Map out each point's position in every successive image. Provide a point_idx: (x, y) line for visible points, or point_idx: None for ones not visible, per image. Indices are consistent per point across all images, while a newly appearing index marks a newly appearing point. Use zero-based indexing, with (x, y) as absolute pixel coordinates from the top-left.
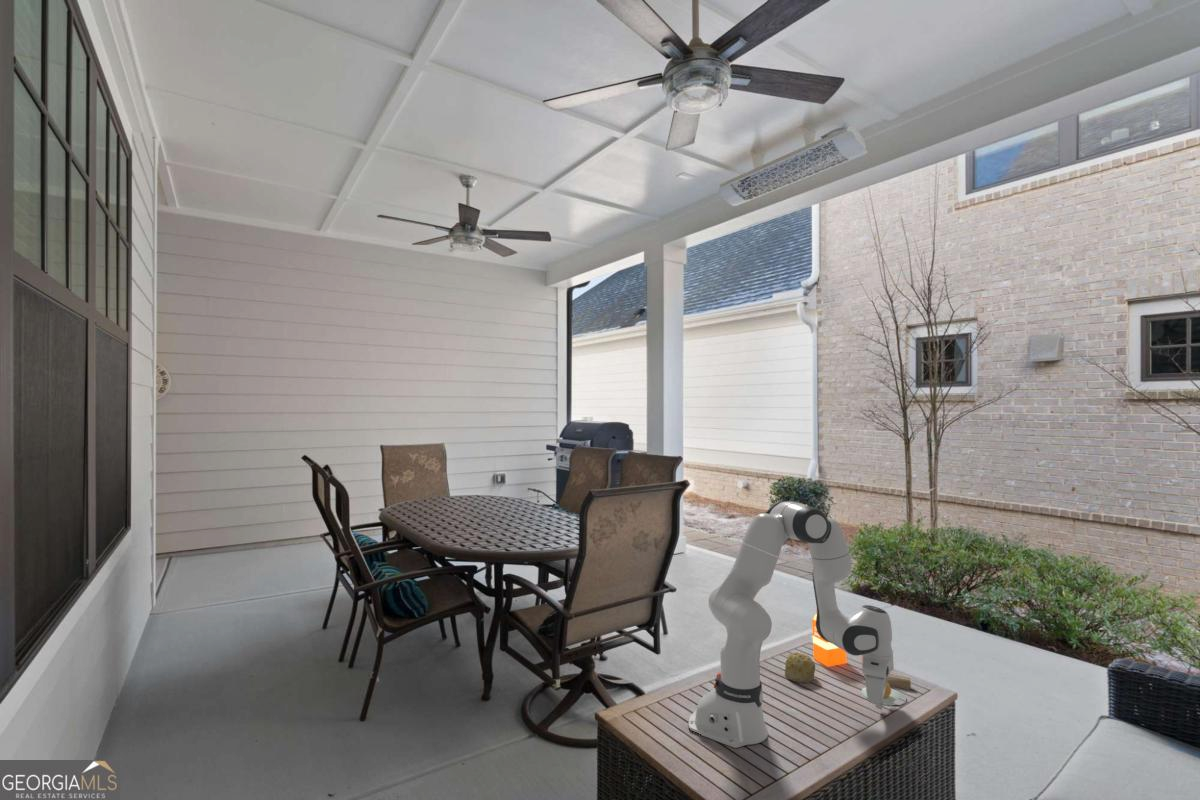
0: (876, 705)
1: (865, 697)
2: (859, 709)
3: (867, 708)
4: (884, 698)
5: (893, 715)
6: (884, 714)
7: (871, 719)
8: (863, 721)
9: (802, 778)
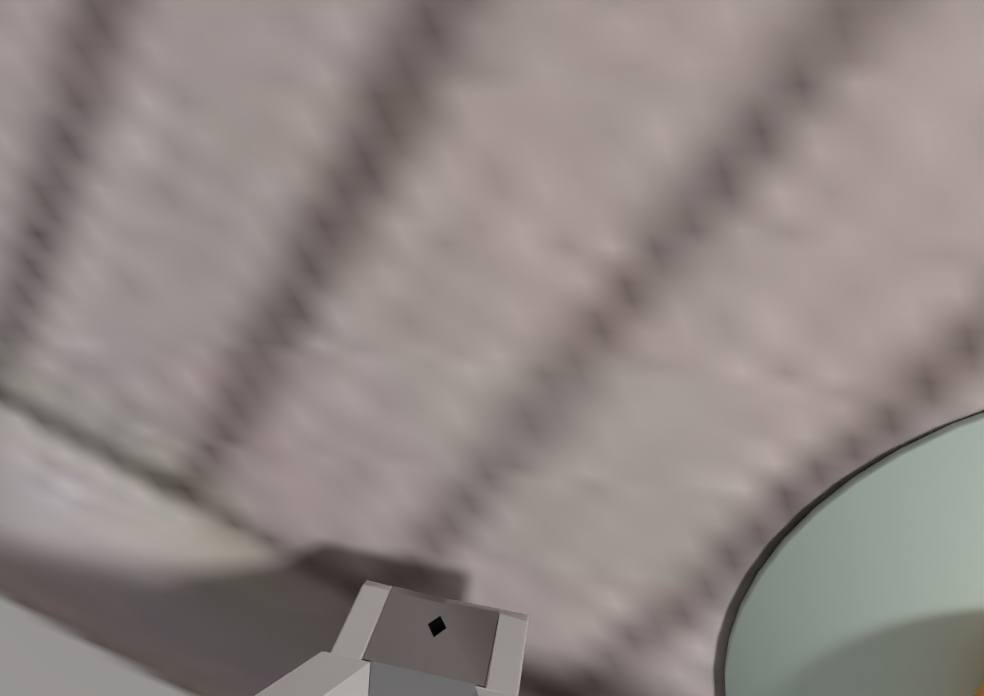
0: (350, 614)
1: (960, 422)
2: (417, 294)
3: (513, 416)
4: (961, 688)
5: None
6: None
7: (191, 437)
8: (66, 332)
9: None
